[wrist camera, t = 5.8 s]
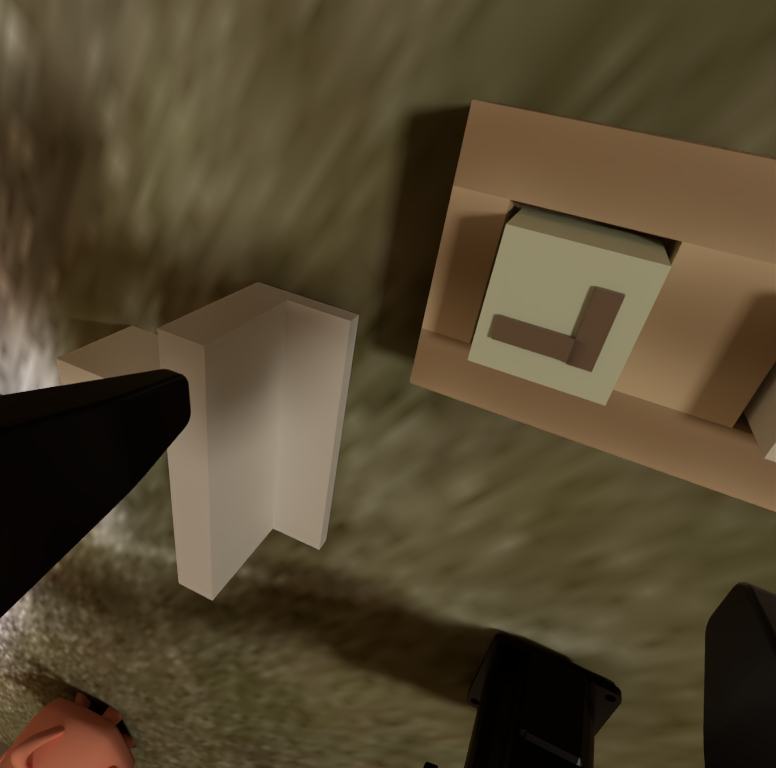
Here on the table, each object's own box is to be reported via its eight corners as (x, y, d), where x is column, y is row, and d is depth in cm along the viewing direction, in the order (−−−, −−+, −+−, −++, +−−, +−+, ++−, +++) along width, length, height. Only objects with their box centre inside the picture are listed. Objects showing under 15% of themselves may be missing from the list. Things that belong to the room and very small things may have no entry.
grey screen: (326, 539, 28) (265, 628, 23) (251, 505, 30) (178, 583, 25) (359, 314, 21) (280, 374, 16) (257, 281, 22) (156, 328, 17)
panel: (884, 500, 17) (931, 567, 14) (434, 351, 20) (409, 382, 18) (1140, 230, 12) (1276, 259, 10) (494, 102, 16) (471, 99, 13)
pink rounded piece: (91, 672, 52) (-9, 777, 44) (169, 749, 54) (87, 866, 45) (51, 690, 60) (-40, 782, 52) (120, 757, 62) (42, 857, 53)
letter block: (205, 421, 28) (140, 469, 24) (141, 394, 29) (69, 436, 25) (202, 351, 26) (130, 392, 22) (133, 325, 27) (52, 359, 23)
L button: (606, 362, 16) (605, 408, 14) (488, 325, 17) (465, 362, 15) (662, 240, 14) (672, 268, 12) (523, 207, 15) (504, 225, 13)
